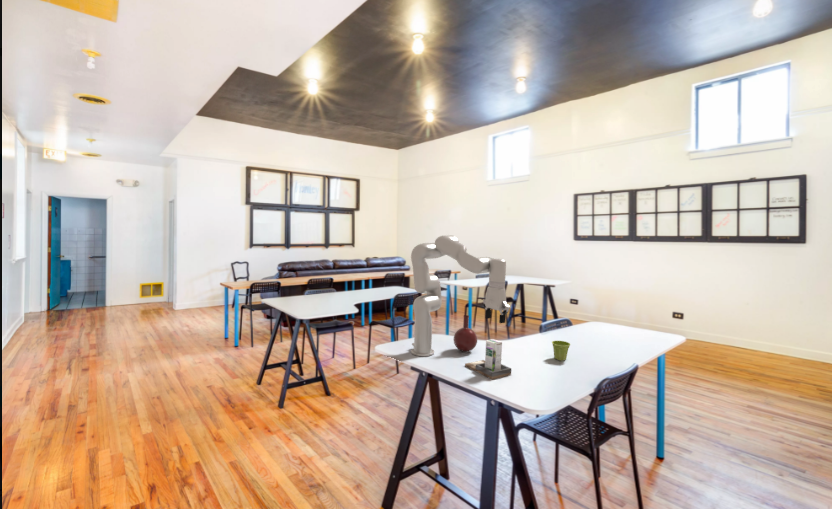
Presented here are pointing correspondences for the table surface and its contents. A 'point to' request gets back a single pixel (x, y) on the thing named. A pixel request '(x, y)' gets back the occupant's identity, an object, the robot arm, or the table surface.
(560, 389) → the table surface
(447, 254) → the robot arm
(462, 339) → the round-bottom flask
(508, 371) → the brown compartment tray
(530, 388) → the table surface
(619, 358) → the table surface
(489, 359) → the syrup box
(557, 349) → the plant pot
